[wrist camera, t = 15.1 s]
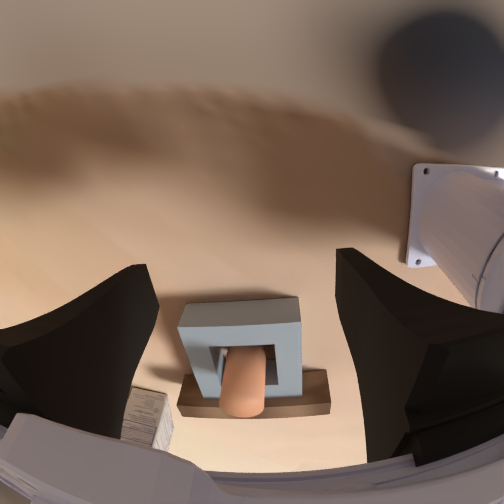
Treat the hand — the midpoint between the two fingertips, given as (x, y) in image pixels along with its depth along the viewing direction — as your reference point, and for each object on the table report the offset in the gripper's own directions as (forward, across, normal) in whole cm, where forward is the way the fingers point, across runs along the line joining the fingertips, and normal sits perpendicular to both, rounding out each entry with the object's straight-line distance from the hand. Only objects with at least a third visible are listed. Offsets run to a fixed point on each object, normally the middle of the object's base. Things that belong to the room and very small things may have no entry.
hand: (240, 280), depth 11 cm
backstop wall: (+10, +2, +18) cm, 21 cm away
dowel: (+10, +2, +12) cm, 16 cm away
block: (+10, +2, +12) cm, 16 cm away
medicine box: (+10, +15, +24) cm, 30 cm away
